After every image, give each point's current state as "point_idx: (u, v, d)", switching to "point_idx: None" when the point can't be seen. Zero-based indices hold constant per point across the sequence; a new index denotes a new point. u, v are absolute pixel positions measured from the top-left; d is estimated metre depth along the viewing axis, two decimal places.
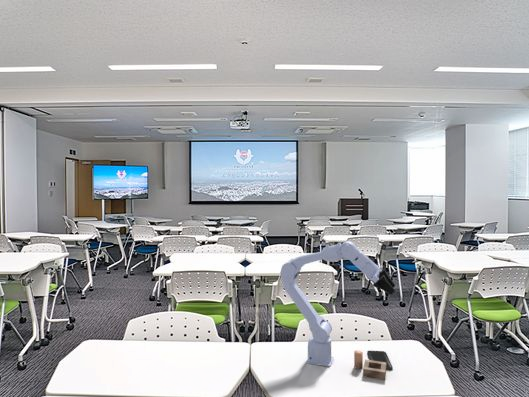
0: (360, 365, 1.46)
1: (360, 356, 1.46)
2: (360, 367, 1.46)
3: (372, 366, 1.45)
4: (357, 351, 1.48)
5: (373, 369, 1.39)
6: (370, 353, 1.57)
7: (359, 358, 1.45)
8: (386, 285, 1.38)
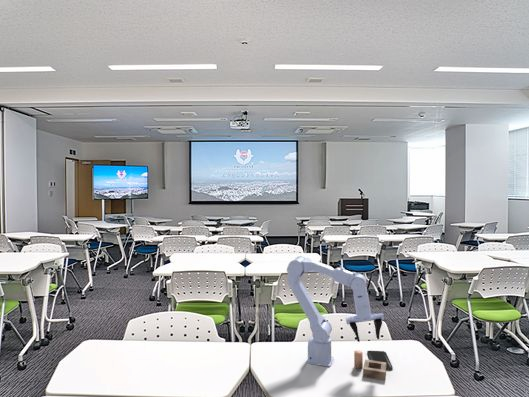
0: (360, 365, 1.46)
1: (360, 356, 1.46)
2: (360, 367, 1.46)
3: (372, 366, 1.45)
4: (357, 351, 1.48)
5: (373, 369, 1.39)
6: (370, 353, 1.57)
7: (359, 358, 1.45)
8: None
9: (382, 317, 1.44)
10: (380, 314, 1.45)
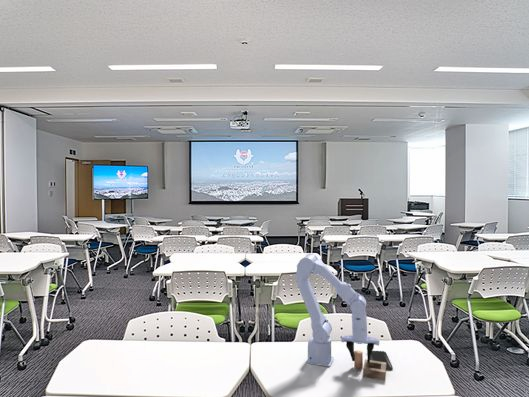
0: (360, 365, 1.46)
1: (360, 356, 1.46)
2: (360, 367, 1.46)
3: (372, 366, 1.45)
4: (357, 351, 1.48)
5: (373, 369, 1.39)
6: None
7: (359, 358, 1.45)
8: None
9: (377, 343, 1.43)
10: (376, 339, 1.44)
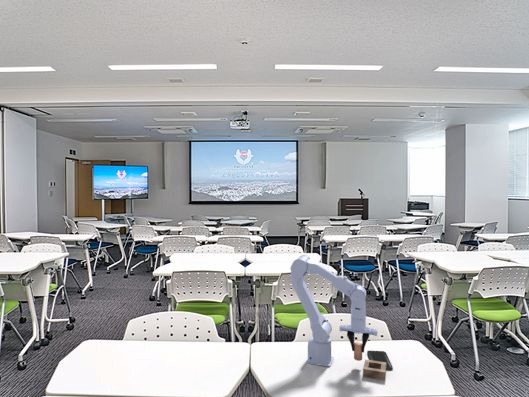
0: (360, 357, 1.46)
1: (360, 348, 1.45)
2: (360, 358, 1.46)
3: (372, 366, 1.45)
4: (357, 343, 1.47)
5: (373, 369, 1.39)
6: (370, 353, 1.57)
7: (359, 349, 1.45)
8: None
9: (375, 333, 1.43)
10: (374, 330, 1.44)
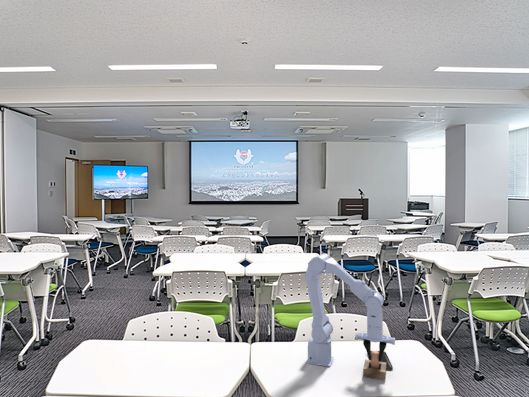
0: (377, 366, 1.40)
1: (377, 357, 1.40)
2: (377, 368, 1.40)
3: None
4: (373, 351, 1.42)
5: (373, 369, 1.39)
6: None
7: (376, 358, 1.40)
8: None
9: (393, 342, 1.38)
10: (392, 338, 1.39)
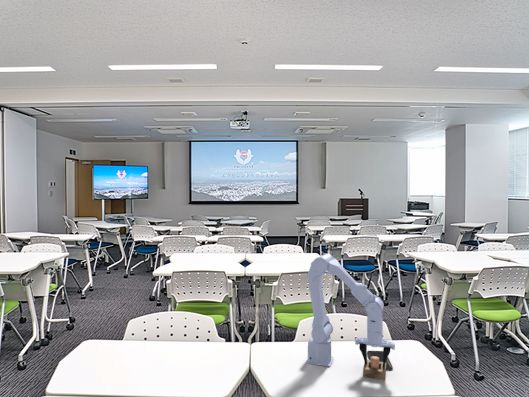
0: None
1: (377, 362, 1.40)
2: None
3: None
4: (373, 357, 1.42)
5: (373, 369, 1.39)
6: (370, 353, 1.57)
7: (375, 364, 1.40)
8: None
9: (393, 347, 1.38)
10: (392, 343, 1.39)
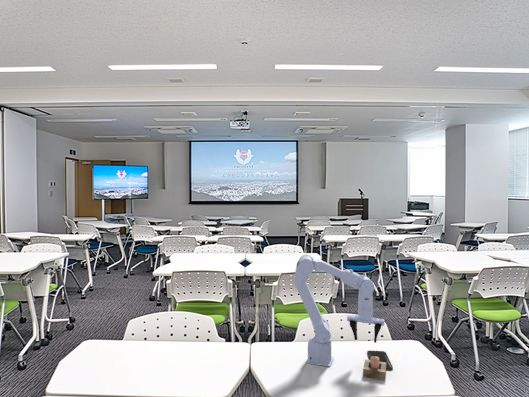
0: None
1: (377, 362, 1.40)
2: None
3: None
4: (373, 357, 1.43)
5: (373, 369, 1.39)
6: (370, 353, 1.57)
7: (375, 364, 1.40)
8: None
9: (382, 323, 1.46)
10: (381, 320, 1.47)
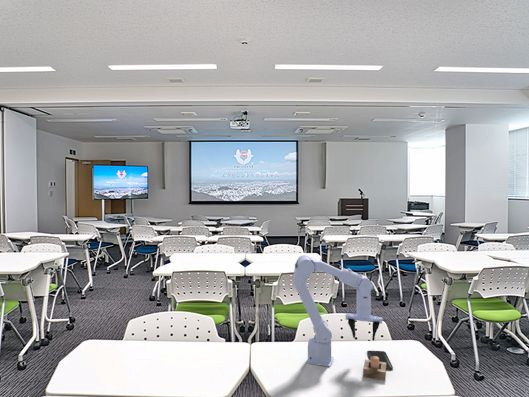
0: None
1: (377, 362, 1.40)
2: None
3: None
4: (373, 357, 1.43)
5: (373, 369, 1.39)
6: (370, 353, 1.57)
7: (375, 364, 1.40)
8: None
9: (380, 321, 1.48)
10: (379, 318, 1.49)
